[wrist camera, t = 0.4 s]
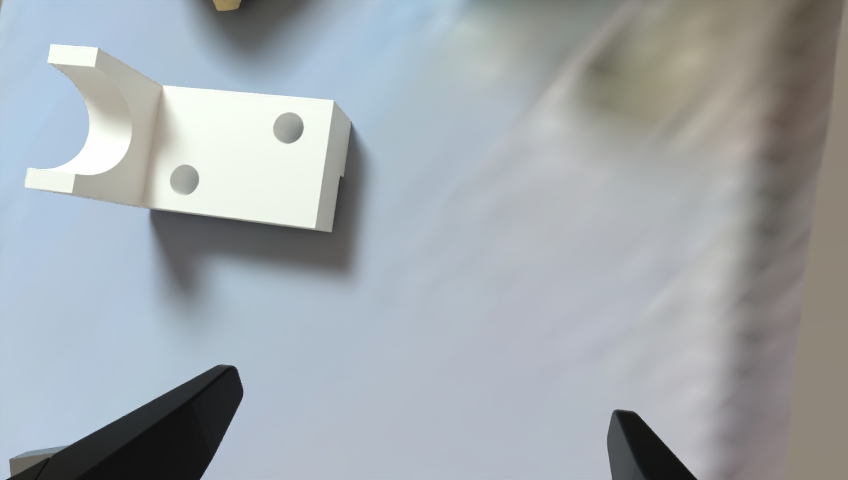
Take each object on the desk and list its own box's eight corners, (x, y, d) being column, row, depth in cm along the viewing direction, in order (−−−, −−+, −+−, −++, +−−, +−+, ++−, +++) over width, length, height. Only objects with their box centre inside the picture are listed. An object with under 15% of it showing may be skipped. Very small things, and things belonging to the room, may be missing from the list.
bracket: (150, 209, 27) (24, 187, 19) (167, 105, 27) (50, 44, 19) (336, 233, 25) (279, 219, 17) (352, 123, 25) (303, 63, 18)
